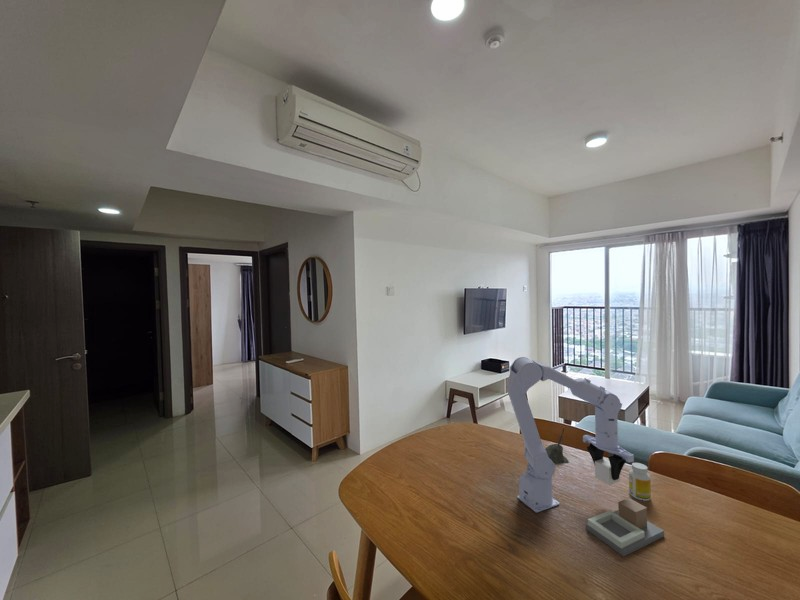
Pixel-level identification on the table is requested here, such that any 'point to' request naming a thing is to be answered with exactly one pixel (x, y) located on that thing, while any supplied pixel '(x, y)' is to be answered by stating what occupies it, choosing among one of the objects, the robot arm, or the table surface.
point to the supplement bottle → (639, 482)
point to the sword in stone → (556, 452)
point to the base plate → (625, 527)
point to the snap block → (604, 471)
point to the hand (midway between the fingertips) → (607, 474)
